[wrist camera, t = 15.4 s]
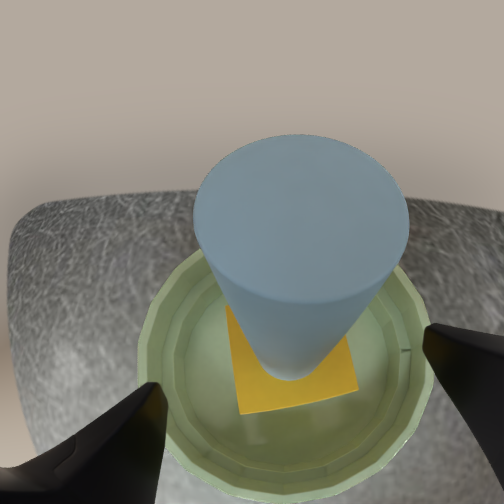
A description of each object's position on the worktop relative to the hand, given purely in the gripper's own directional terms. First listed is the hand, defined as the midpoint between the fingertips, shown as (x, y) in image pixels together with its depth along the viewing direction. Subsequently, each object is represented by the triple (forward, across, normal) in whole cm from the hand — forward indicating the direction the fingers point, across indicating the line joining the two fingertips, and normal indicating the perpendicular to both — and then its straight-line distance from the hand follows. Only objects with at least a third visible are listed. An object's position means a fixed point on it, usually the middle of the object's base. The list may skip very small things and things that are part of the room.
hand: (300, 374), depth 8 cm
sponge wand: (+7, 0, +4) cm, 8 cm away
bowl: (+7, 0, +5) cm, 9 cm away
